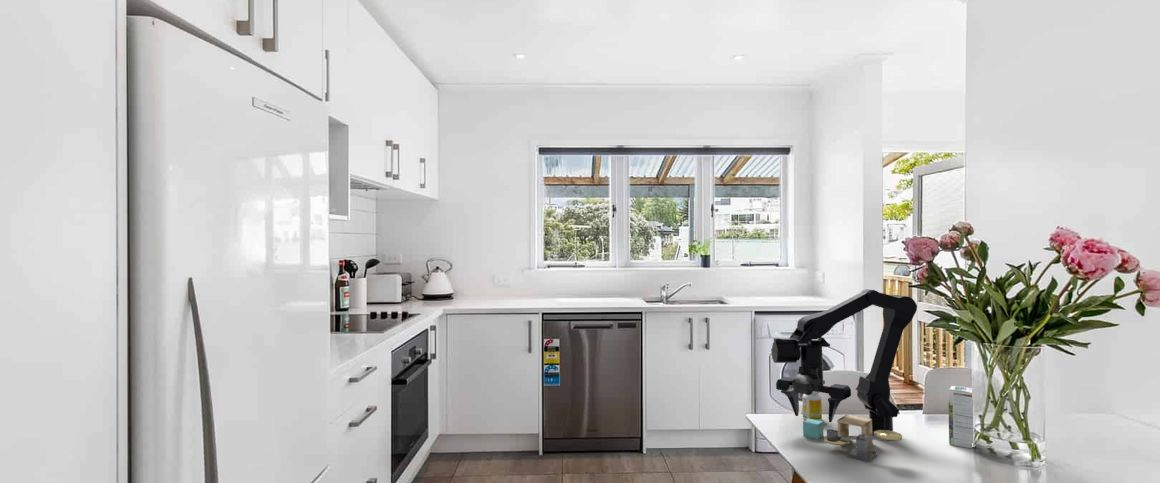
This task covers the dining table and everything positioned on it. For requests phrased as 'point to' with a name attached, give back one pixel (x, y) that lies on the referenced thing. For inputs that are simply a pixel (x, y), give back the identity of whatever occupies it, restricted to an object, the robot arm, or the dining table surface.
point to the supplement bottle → (812, 406)
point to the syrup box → (960, 416)
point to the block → (813, 428)
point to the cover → (856, 421)
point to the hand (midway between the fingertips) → (813, 418)
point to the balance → (860, 442)
